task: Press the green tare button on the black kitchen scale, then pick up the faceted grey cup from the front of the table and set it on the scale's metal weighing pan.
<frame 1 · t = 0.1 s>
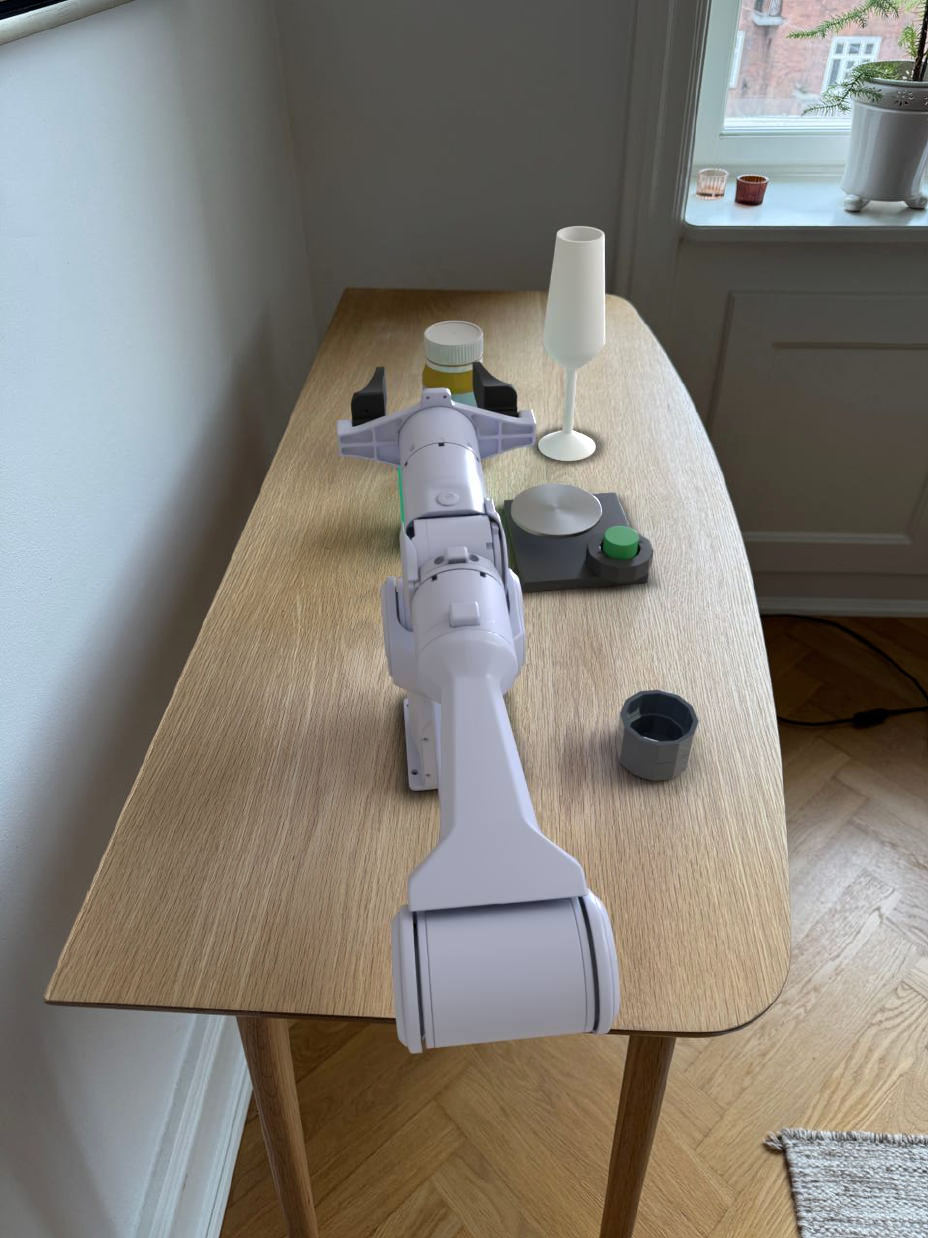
hand: (429, 375, 73), 22 cm above the table, tool horizontal, fingers open, 7 cm apart
scale: (571, 544, 92), on the table
champagne flute: (566, 447, 107), on the table
faceted grey cup: (652, 756, 71), on the table
scale pan: (556, 512, 91), resting on scale
bottle: (456, 459, 105), on the table
tare button: (620, 543, 86), point 3 cm above the table, slide at 0.1 cm
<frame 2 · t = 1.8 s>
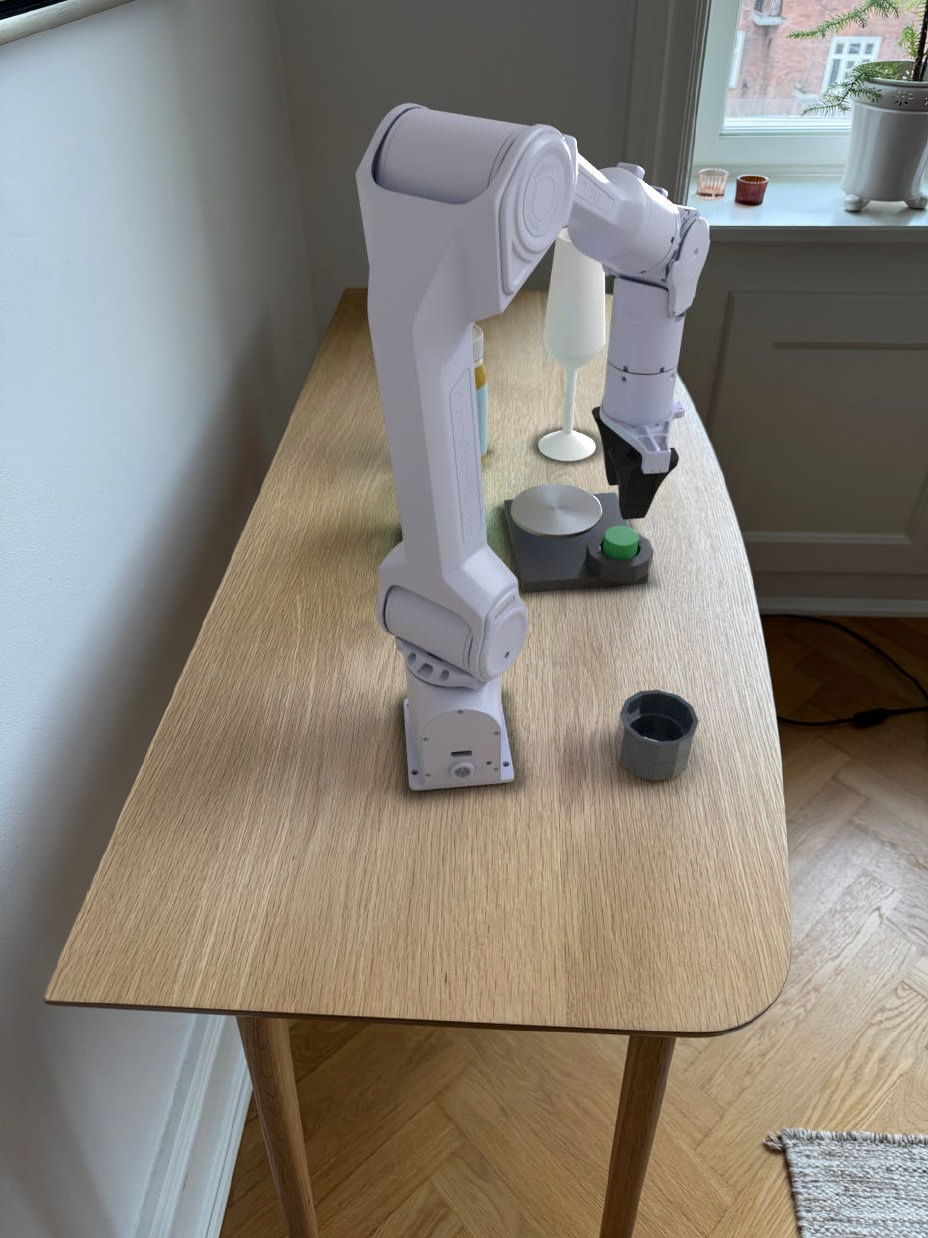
hand: (625, 499, 83), 8 cm above the table, tool pointing down, fingers open, 5 cm apart
nothing on the table moved.
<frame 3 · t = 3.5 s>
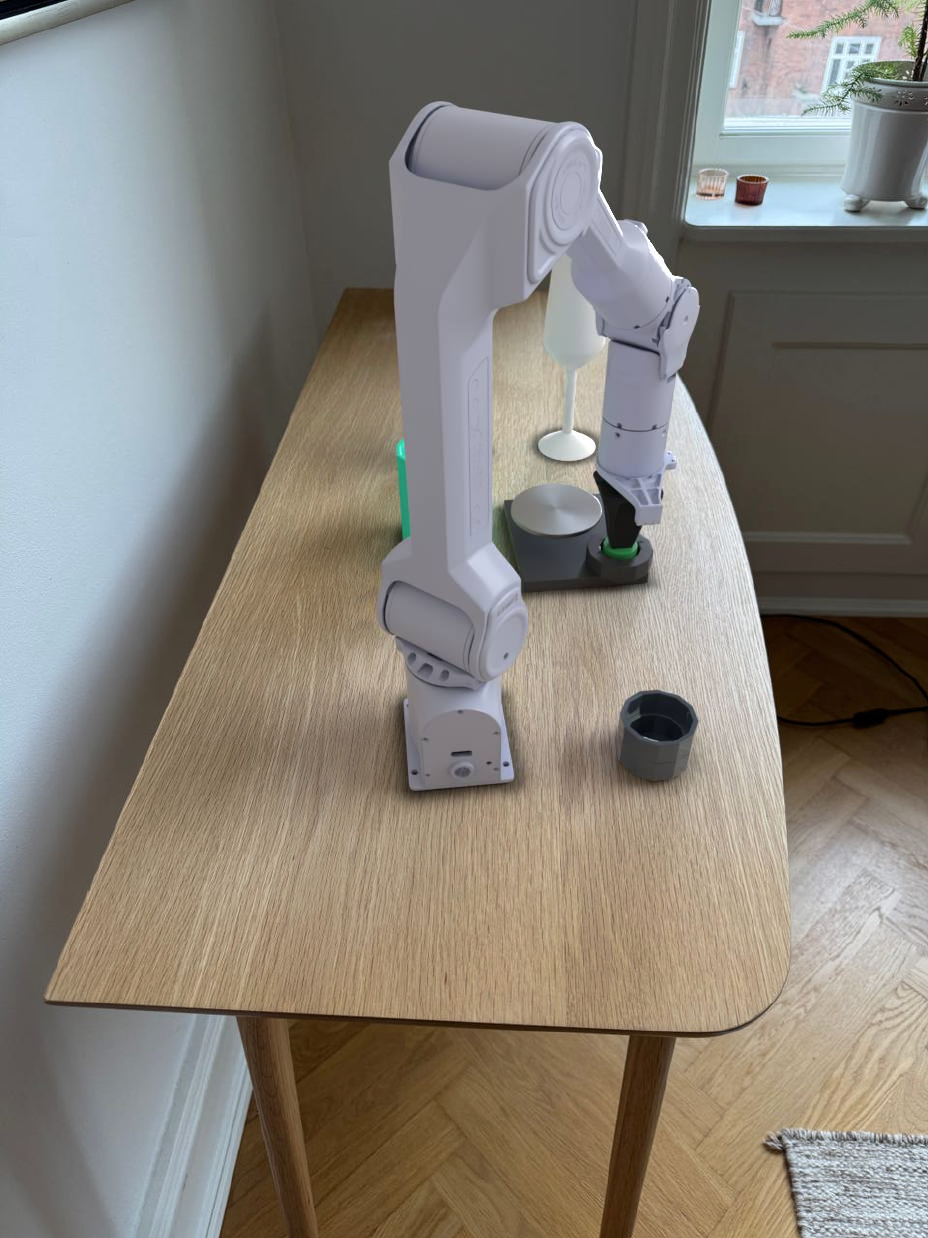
hand: (620, 544, 86), 3 cm above the table, tool pointing down, fingers closed, pressing on tare button
tare button: (619, 551, 87), point 3 cm above the table, slide at -0.9 cm, touching gripper
everything else where it was.
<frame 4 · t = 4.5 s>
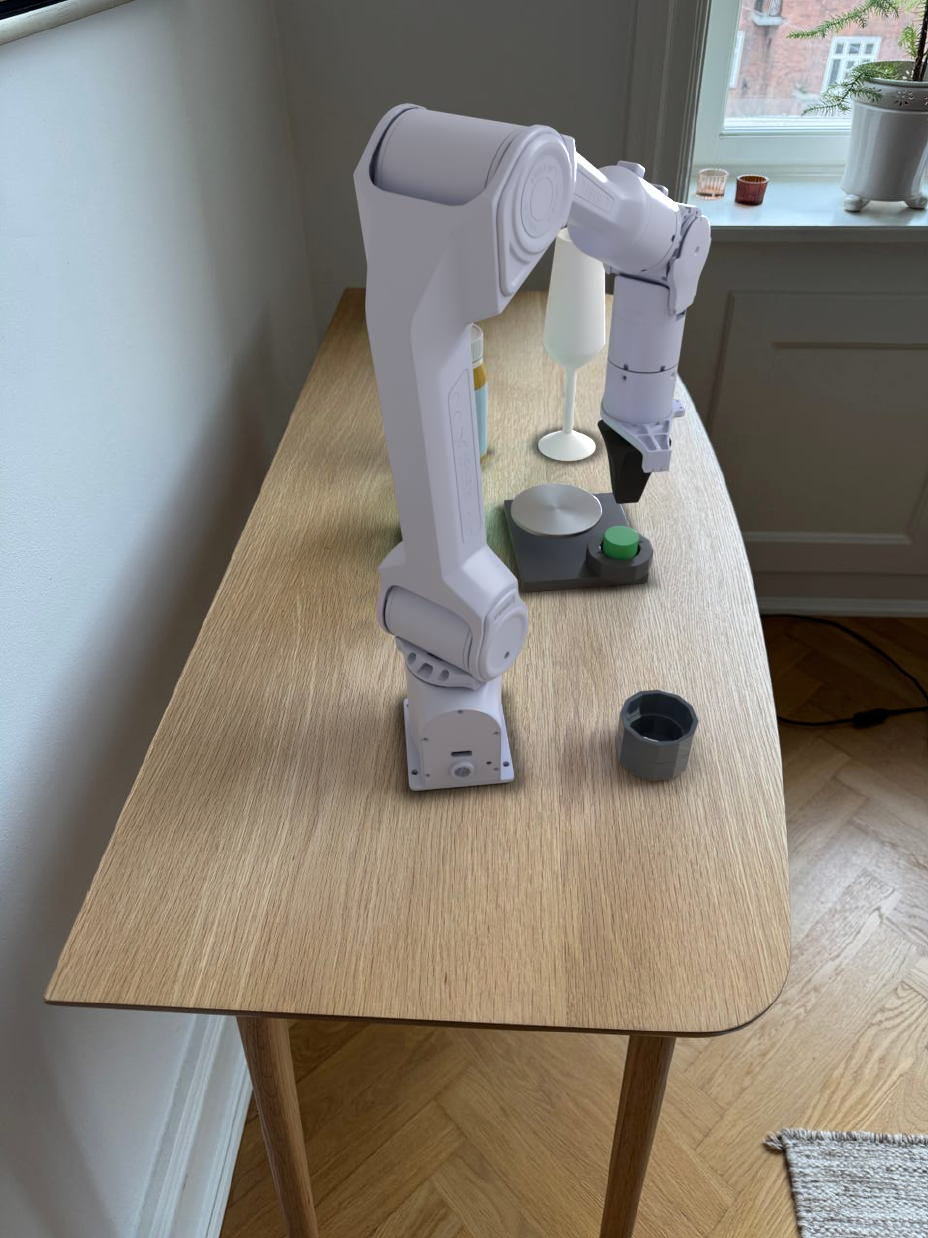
hand: (625, 499, 83), 9 cm above the table, tool pointing down, fingers closed
tare button: (620, 543, 86), point 3 cm above the table, slide at 0.1 cm
everything else where it was.
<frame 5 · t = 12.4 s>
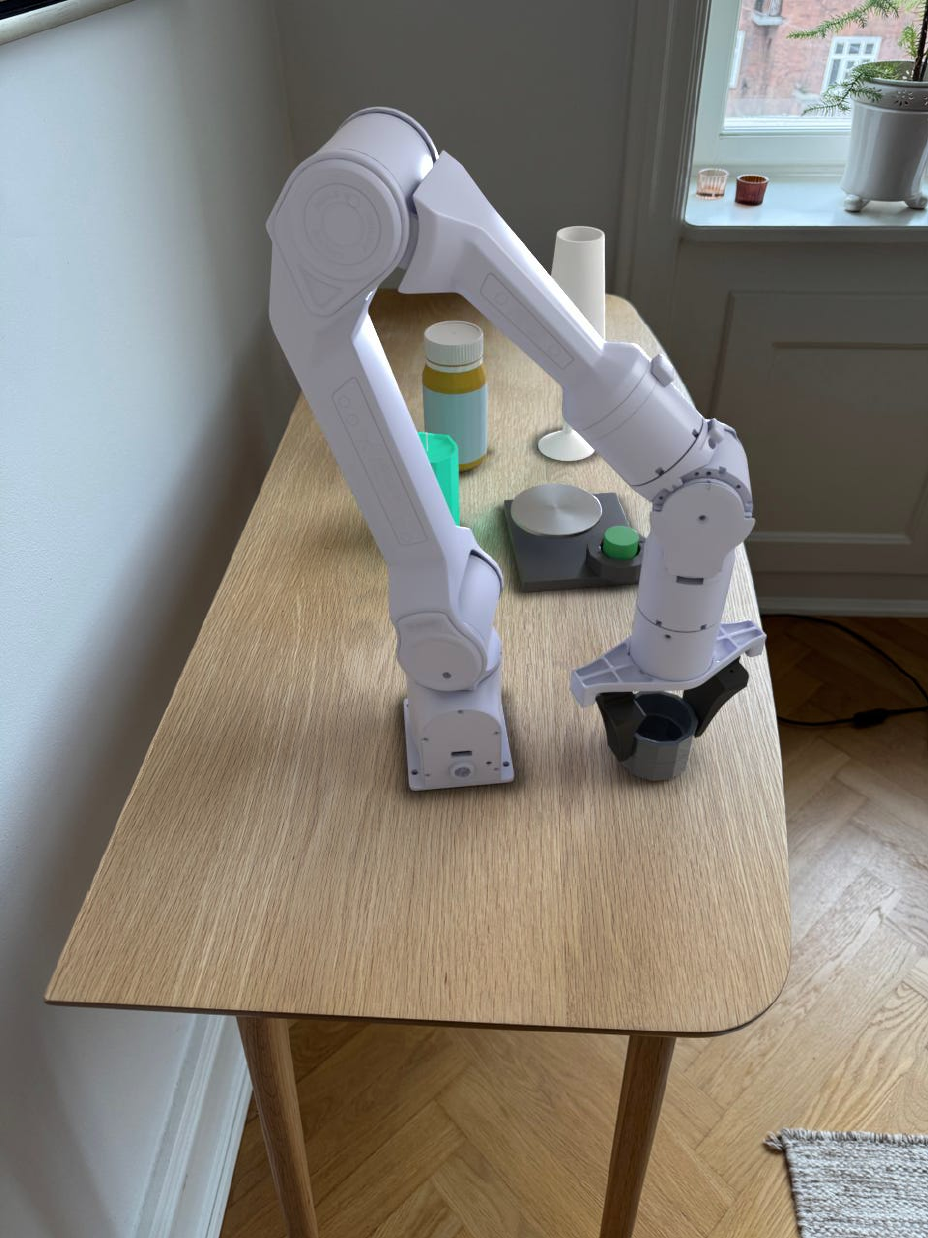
hand: (655, 739, 70), 2 cm above the table, tool pointing down, fingers closed on faceted grey cup, 6 cm apart
faceted grey cup: (651, 756, 71), on the table, touching gripper
everything else where it was.
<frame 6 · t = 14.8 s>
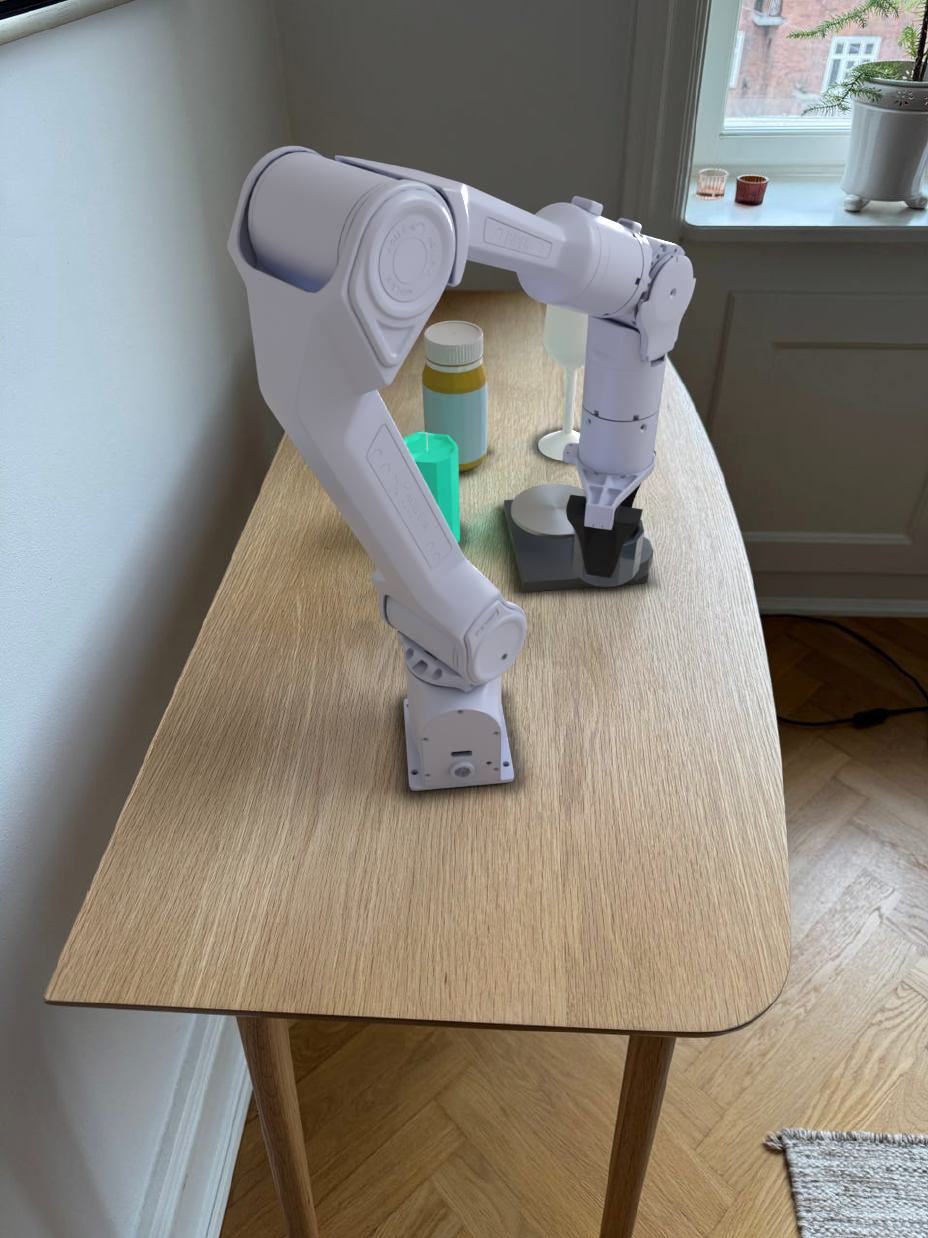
hand: (605, 550, 76), 9 cm above the table, tool pointing down, fingers closed on faceted grey cup, 6 cm apart
faceted grey cup: (604, 568, 78), point 7 cm above the table, touching gripper
everything else where it was.
when the fingers open (5 cm above the table, at t = 17.4 s): faceted grey cup stays where it is, resting on scale pan.
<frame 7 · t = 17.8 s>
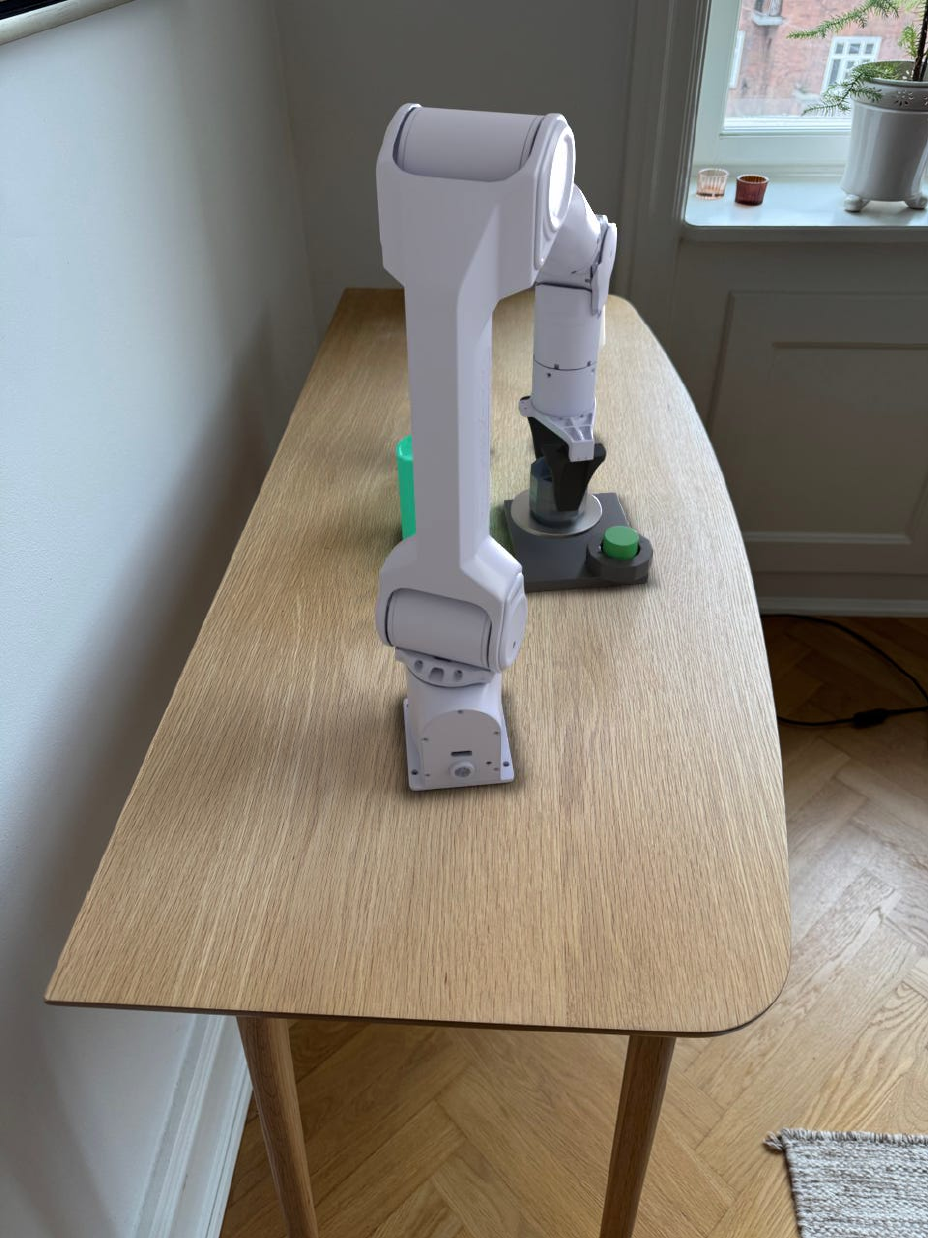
hand: (557, 487, 89), 6 cm above the table, tool pointing down, fingers open, 7 cm apart
faceted grey cup: (557, 508, 91), point 3 cm above the table, touching scale pan
everything else where it was.
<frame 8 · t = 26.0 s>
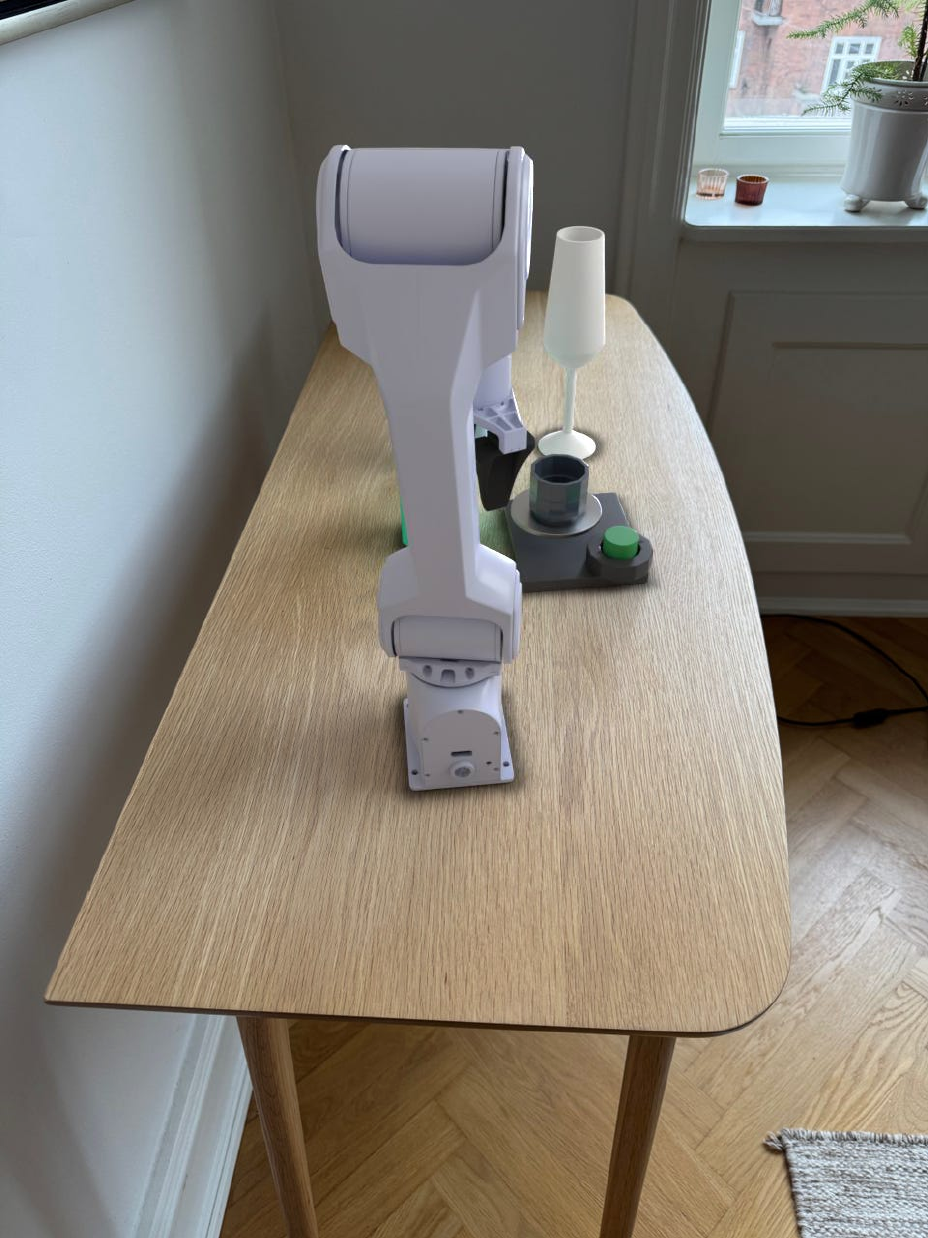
hand: (476, 485, 82), 10 cm above the table, tool pointing down, fingers open, 7 cm apart
nothing on the table moved.
at the end: tare button pushed in 1.2 cm at the most during the clip, back to where it started at the end; faceted grey cup 0.1 cm off-centre on the scale pan, point 0.5 cm above the scale pan's base; faceted grey cup tilted 0° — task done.
